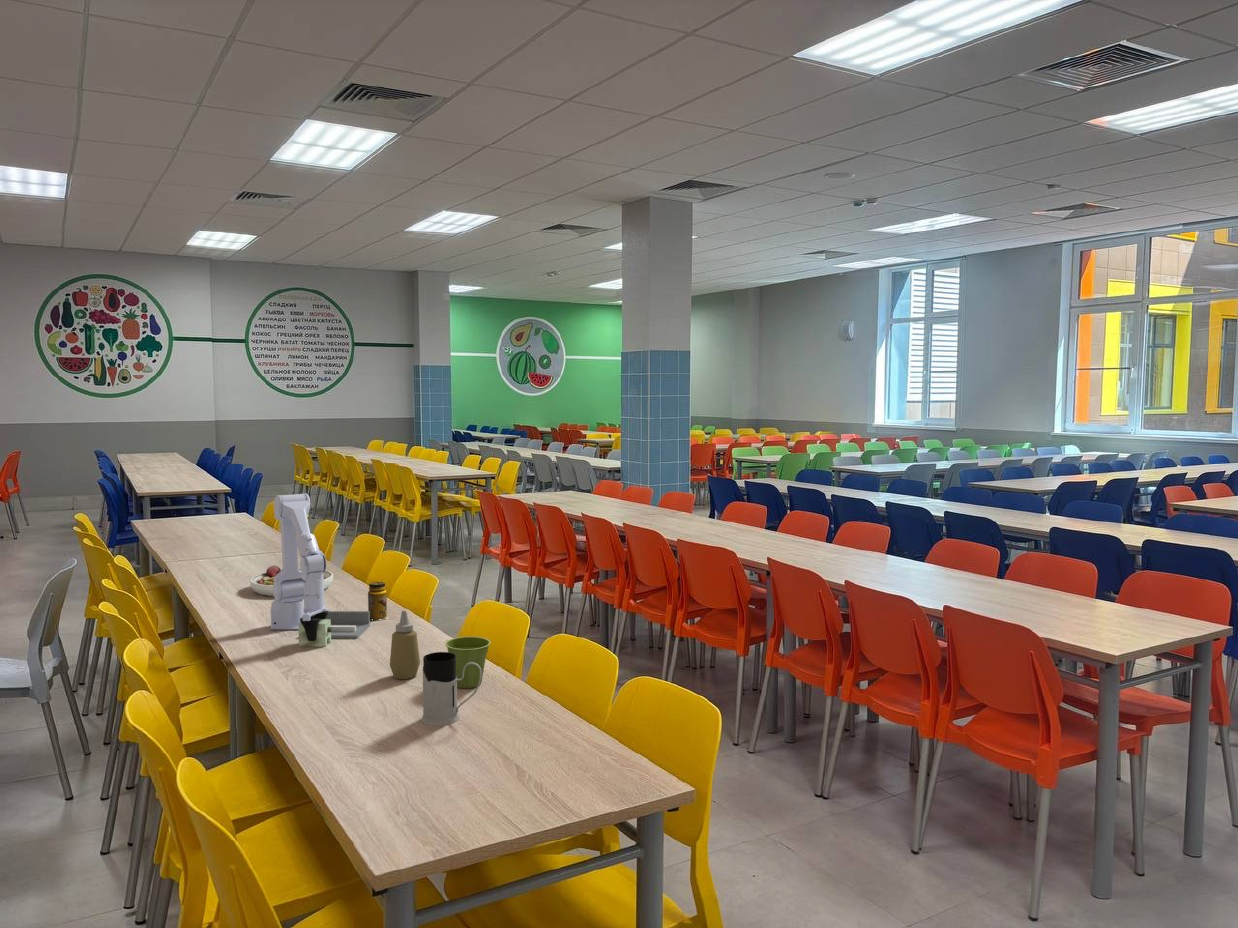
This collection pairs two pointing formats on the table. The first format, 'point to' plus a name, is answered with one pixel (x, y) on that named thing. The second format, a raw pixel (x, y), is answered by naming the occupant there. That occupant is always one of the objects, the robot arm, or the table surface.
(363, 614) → the board
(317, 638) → the block
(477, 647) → the plant pot
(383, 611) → the condiment
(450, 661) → the glass holder
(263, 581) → the bowl
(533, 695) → the table surface
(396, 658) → the squeeze bottle
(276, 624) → the robot arm
